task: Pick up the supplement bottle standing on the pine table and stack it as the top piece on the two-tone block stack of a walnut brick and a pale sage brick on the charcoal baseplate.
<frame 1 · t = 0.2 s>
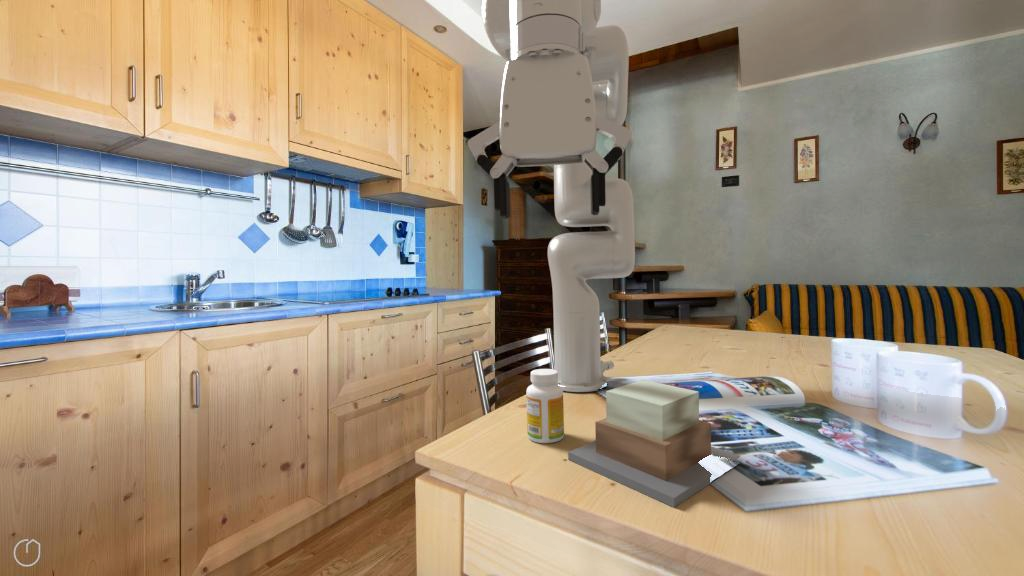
hand: (549, 215, 47), 31 cm above the table, tool pointing down, fingers open, 9 cm apart
two-tone block stack: (652, 422, 55), on the baseplate, point 5 cm above the table
supplement bottle: (545, 438, 65), on the table
baseplate: (652, 461, 56), on the table
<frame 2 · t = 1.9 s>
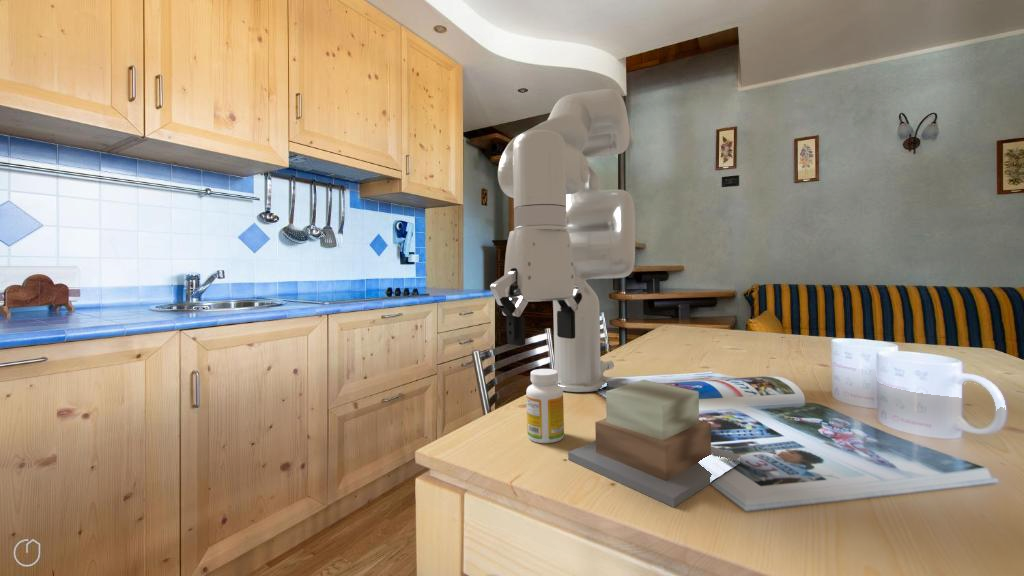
hand: (542, 341, 63), 14 cm above the table, tool pointing down, fingers open, 9 cm apart
nothing on the table moved.
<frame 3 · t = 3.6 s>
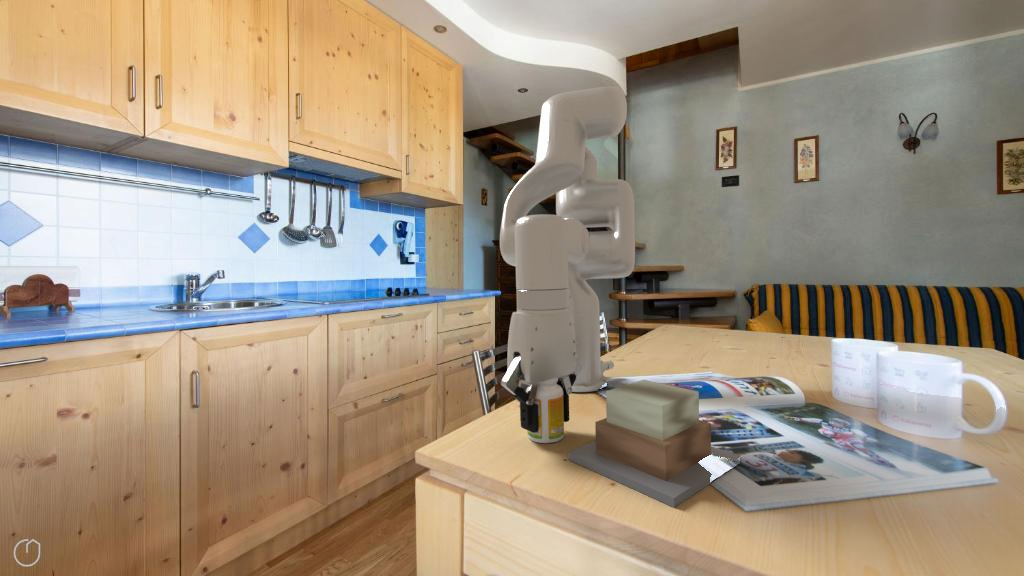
hand: (545, 423, 64), 2 cm above the table, tool pointing down, fingers closed on supplement bottle, 5 cm apart
supplement bottle: (545, 438, 65), on the table, touching gripper
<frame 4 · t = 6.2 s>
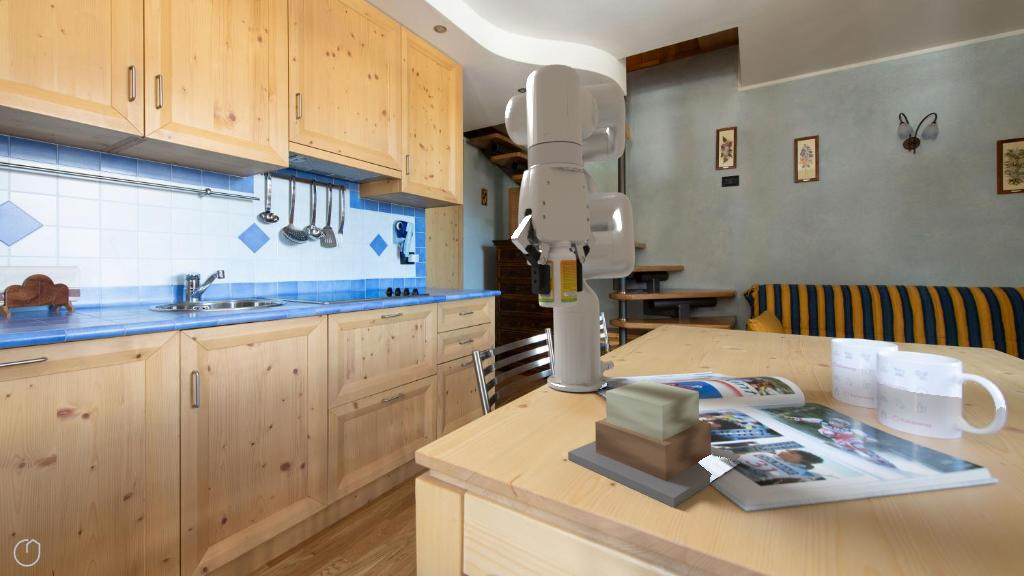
hand: (557, 291, 62), 21 cm above the table, tool pointing down, fingers closed on supplement bottle, 5 cm apart
supplement bottle: (558, 307, 62), point 19 cm above the table, touching gripper
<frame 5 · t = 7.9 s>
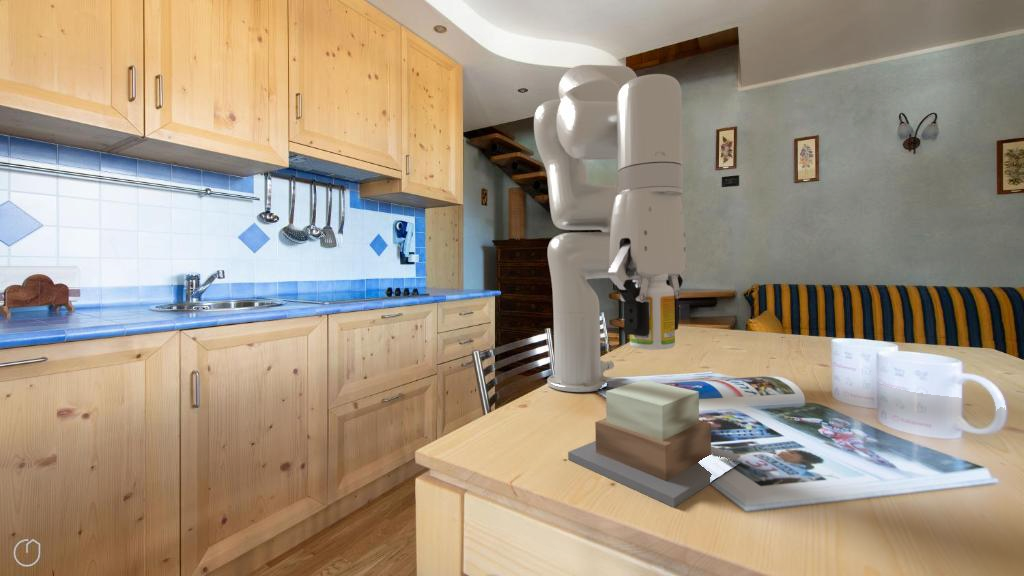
hand: (651, 330, 55), 17 cm above the table, tool pointing down, fingers closed on supplement bottle, 5 cm apart
supplement bottle: (652, 348, 55), point 15 cm above the table, touching gripper
when the fingers open (12 cm above the table, at t = 9.1 s): supplement bottle drops 1 cm, resting on two-tone block stack.
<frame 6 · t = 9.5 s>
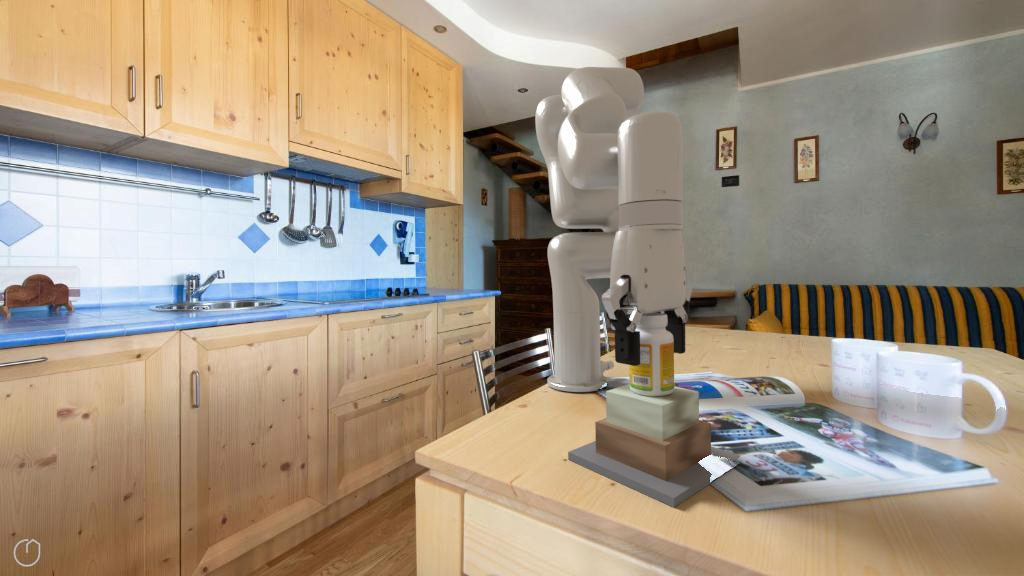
hand: (651, 357, 55), 13 cm above the table, tool pointing down, fingers open, 9 cm apart
supplement bottle: (651, 392, 55), point 9 cm above the table, touching two-tone block stack
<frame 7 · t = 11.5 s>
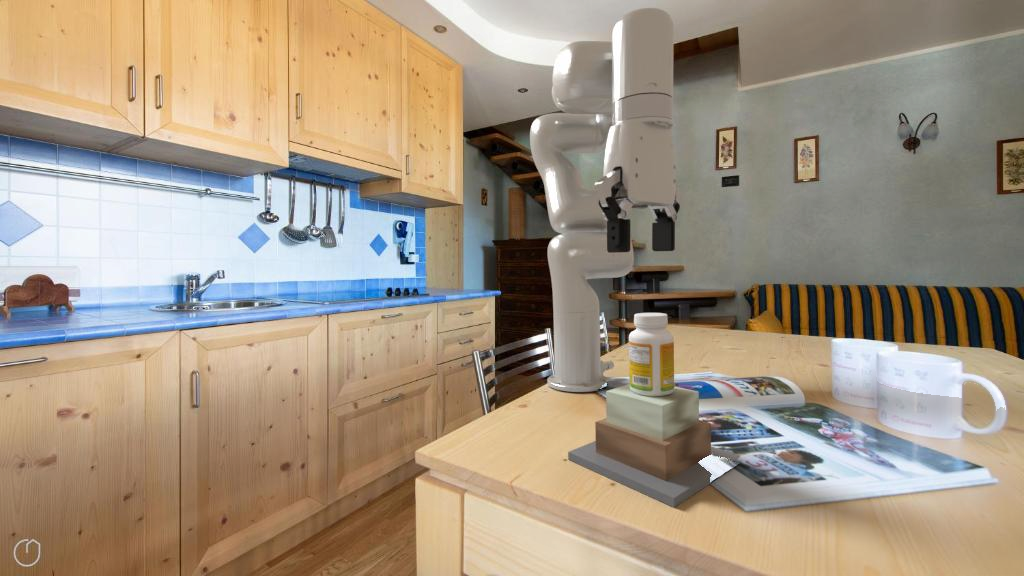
hand: (642, 251, 58), 27 cm above the table, tool pointing down, fingers open, 9 cm apart
nothing on the table moved.
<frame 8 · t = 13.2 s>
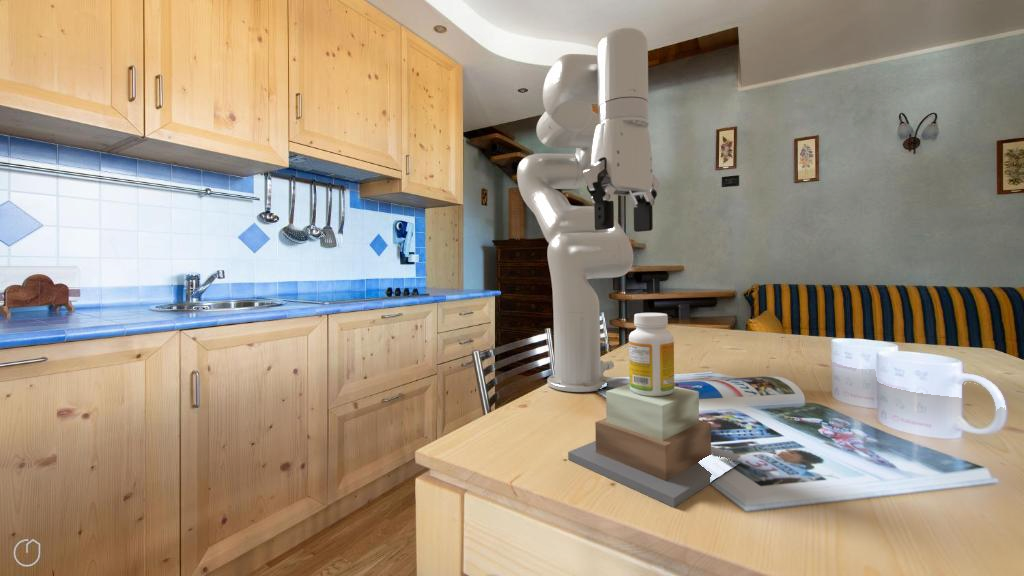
hand: (624, 230, 69), 30 cm above the table, tool pointing down, fingers open, 9 cm apart
nothing on the table moved.
at the end: supplement bottle 0.2 cm off-centre on the two-tone block stack, point 8.8 cm above the two-tone block stack's base; supplement bottle tilted 0°; the gripper is holding nothing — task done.
